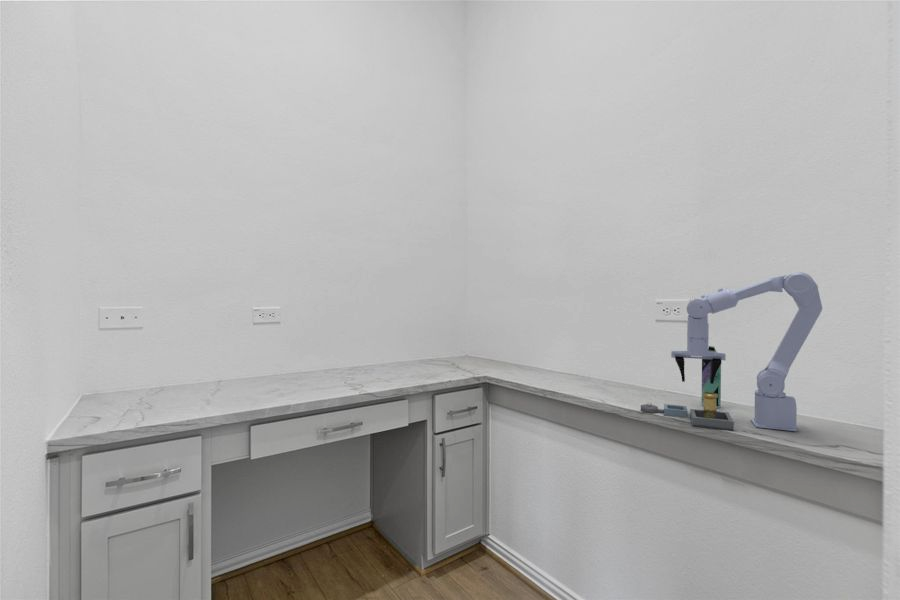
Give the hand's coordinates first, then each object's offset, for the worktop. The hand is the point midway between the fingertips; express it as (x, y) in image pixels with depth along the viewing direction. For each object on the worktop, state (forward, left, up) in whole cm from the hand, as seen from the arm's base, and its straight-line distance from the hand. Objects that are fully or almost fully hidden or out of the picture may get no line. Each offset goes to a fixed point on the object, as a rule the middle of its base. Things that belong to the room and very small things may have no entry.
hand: (697, 382), depth 138 cm
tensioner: (+9, 0, -10) cm, 14 cm away
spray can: (-5, -14, -11) cm, 18 cm away
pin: (-3, +7, -10) cm, 12 cm away
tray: (-3, +8, -10) cm, 13 cm away
